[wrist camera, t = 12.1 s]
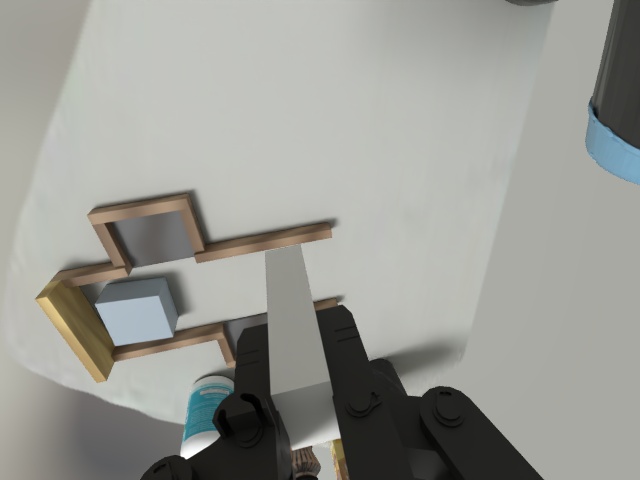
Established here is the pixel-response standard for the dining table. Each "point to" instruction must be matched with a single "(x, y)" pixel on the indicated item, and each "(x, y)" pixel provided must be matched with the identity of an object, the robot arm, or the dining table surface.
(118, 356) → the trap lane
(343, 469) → the candy box
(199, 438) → the pill bottle
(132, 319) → the slate block
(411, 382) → the dining table surface
